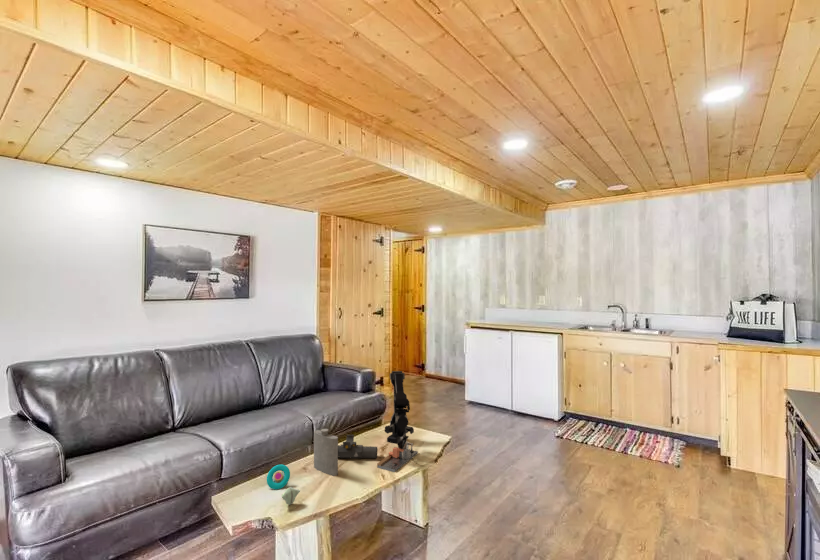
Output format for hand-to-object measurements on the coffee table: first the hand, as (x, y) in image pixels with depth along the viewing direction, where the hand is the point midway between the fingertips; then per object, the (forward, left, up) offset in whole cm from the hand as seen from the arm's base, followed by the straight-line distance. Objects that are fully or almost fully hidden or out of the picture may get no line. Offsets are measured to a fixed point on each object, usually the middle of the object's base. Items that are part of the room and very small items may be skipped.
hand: (400, 450), depth 214 cm
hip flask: (+32, -24, -3) cm, 40 cm away
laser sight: (+13, -20, -3) cm, 24 cm away
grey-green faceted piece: (+62, -17, -3) cm, 64 cm away
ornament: (+53, -33, -3) cm, 63 cm away
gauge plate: (+5, +1, -3) cm, 6 cm away
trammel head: (+5, 0, -1) cm, 5 cm away
